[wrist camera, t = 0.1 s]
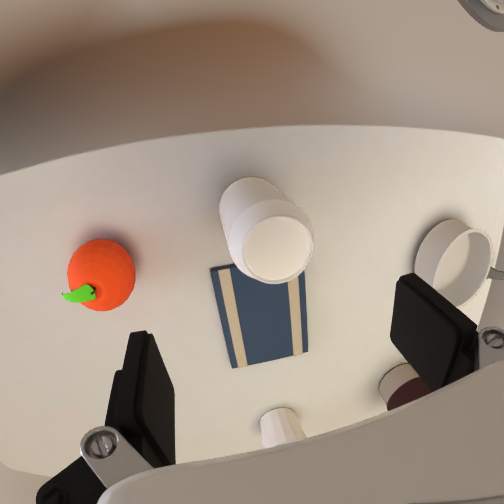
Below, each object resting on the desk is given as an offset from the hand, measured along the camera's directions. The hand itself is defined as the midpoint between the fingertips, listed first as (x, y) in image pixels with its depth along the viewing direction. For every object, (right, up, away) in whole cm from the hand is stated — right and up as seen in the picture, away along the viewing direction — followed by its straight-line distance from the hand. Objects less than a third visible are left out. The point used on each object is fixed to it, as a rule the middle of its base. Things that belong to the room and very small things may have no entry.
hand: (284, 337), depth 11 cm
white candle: (+3, -23, +35) cm, 42 cm away
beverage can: (-2, +8, +21) cm, 23 cm away
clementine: (-17, +2, +21) cm, 27 cm away
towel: (0, -4, +26) cm, 27 cm away
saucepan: (+29, +2, +29) cm, 41 cm away
